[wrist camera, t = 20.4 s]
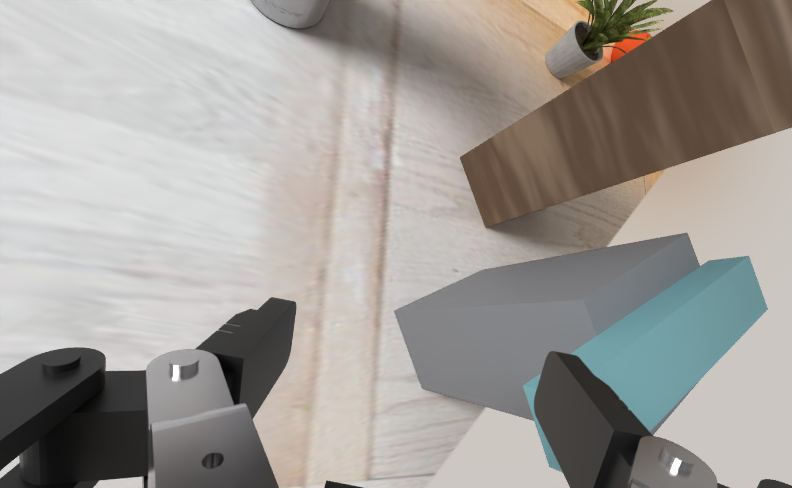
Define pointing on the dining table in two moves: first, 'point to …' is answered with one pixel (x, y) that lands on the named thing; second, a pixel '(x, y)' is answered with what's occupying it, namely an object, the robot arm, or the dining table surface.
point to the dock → (532, 317)
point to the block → (670, 340)
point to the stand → (645, 111)
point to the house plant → (598, 34)
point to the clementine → (628, 45)
